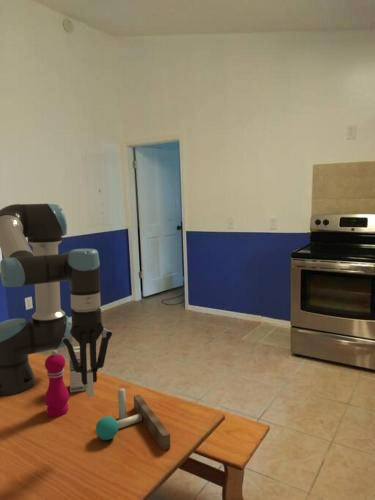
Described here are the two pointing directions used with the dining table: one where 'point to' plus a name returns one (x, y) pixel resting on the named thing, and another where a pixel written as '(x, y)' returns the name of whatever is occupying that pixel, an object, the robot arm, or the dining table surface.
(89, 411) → the dining table surface
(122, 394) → the grey pin
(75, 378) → the syrup box
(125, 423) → the ivory pin
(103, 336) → the robot arm
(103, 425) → the ball
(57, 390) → the pepper mill
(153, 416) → the back wall
